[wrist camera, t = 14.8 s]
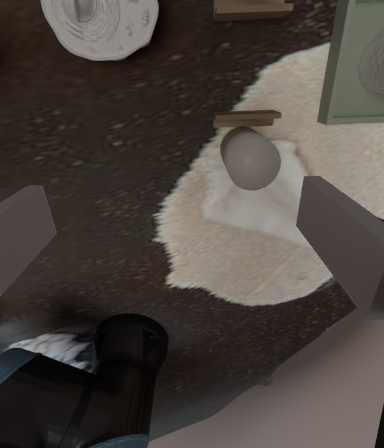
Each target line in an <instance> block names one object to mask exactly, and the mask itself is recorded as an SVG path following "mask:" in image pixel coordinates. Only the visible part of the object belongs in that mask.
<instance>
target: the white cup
mask: <svg viewBox="0 0 384 448" xmlns="http://www.w3.org/2000/svg"><path fill="white" fill-rule="evenodd" d="M359 75H360V81H361V83H362V84H363V85H364V86H365V88H366V89H367V90H368V91H372V92H376V93H380V94H384V33H382V34H381V35H380V36H378V37H377V38H376V39H374V40H373V41H372V42H371V43H370V44H369V46H368V47H367V49H366V50H365V52H364V53H363V55H362V58H361V62H360V66H359Z"/></svg>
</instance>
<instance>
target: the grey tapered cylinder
mask: <svg viewBox="0 0 384 448" xmlns="http://www.w3.org/2000/svg"><path fill="white" fill-rule="evenodd" d="M220 153H221V157H222V159H223V161H224V164H225V166H226V169H227V171H228V173H229V176H230V178H231V180H232V181H233V182H234V183H235V184H236V185H237V186H238V187H240V188H242V189H245V190H258V189H261V188H263V187H265V186H267V185H269V184H270V183H271V182H272V181H273V180H274V179H275V177H276V176H277V174H278V172H279V169H280V165H281V159H280V154H279V151H278V150H277V148H276V147H275V146H274V145H273V144H272V143H271V142H270V141H268V140H267V139H265V138H264V137H263V136H261V135H260V134H259V133H257V132H256V131H255V130H253V129H251V128H249V127H237V128H234V129H232V130H231V131H229V132H228V133H227V134H226V135H225V137H224V138H223V140H222V143H221V147H220Z"/></svg>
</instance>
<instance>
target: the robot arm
mask: <svg viewBox="0 0 384 448" xmlns="http://www.w3.org/2000/svg"><path fill="white" fill-rule="evenodd" d="M296 226H297V227H298V229H299V230H300V231H301V233H302V234H303V235H304V237H305V238H306V239H307V241H308V242H309V243H310V245H311V246H312V247H313V249H314V250H315V252H316V253H317V254H318V256H319V257H320V258H321V260H322V261H323V262H324V264H325V265H326V266H327V268H328V269H329V270H330V272H331V273H332V274H333V276H334V277H335V278H336V280H337V281H338V283H339V284H340V285H341V287H342V288H343V289H344V291H345V292H346V293H347V295H348V296H349V297H350V299H351V300H352V301H353V303H354V304H355V305H356V307H357V308H358V309H359V311H360V312H361V313H362V315H363V316H364V317H365V319H366V320H374V319H384V220H383V219H381V218H379V217H376V216H374V215H373V214H372V213H370V212H369V211H368V210H366V209H365V208H363V207H362V206H361V205H359V204H358V203H356V202H355V201H354V200H352V199H351V198H349V197H348V196H347V195H345V194H344V193H342V192H341V191H340V190H338V189H337V188H336V187H334V186H333V185H331V184H330V183H329V182H327V181H326V180H324V179H323V178H322V177H320V176H304V180H303V186H302V192H301V199H300V205H299V211H298V217H297V223H296ZM56 234H57V232H56V228H55V225H54V222H53V218H52V215H51V212H50V209H49V205H48V202H47V199H46V195H45V192H44V189H43V185H39V186H26V187H25V188H23V189H22V190H20V191H19V192H17V193H15V194H14V195H12V196H11V197H9V198H7V199H6V200H4V201H3V202H1V203H0V296H1V295H2V294H3V293H4V292H5V291H6V290H7V288H8V287H9V286H10V285H11V284H12V283H13V282H14V281H15V279H16V278H17V277H18V276H19V275H20V274H21V273H22V272H23V270H24V269H25V268H26V267H27V266H28V265H29V264H30V263H31V262H32V260H33V259H34V258H35V257H36V256H37V255H38V254H39V253H40V251H41V250H42V249H43V248H44V247H45V246H46V245H47V244H48V242H49V241H50V240H51V239H52V238H53V237H54V236H55V235H56ZM167 348H168V337H167V334H166V332H165V331H164V329H163V328H162V327H161V326H160V325H159V324H158V323H156V322H155V321H153V320H151V319H149V318H147V317H144V316H140V315H134V314H123V315H117V316H114V317H111V318H109V319H107V320H105V321H104V322H103V323H102V324H101V325H100V326H99V327H98V329H97V331H96V334H95V337H94V340H93V370H92V373H90V372H87V371H84V370H82V369H79V368H76V367H73V366H71V365H68V364H65V363H63V362H60V361H58V360H55V359H52V358H50V357H47V356H44V355H42V353H35V352H31V351H28V350H25V349H22V348H11V349H8V350H6V351H5V352H3V353H2V354H0V448H147V446H148V443H149V431H150V421H151V412H152V403H153V394H154V385H155V379H156V377H157V374H158V372H159V370H160V368H161V366H162V364H163V362H164V359H165V357H166V354H167ZM375 448H384V405H383V410H382V414H381V419H380V424H379V429H378V434H377V439H376V443H375Z"/></svg>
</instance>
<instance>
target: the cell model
mask: <svg viewBox="0 0 384 448" xmlns="http://www.w3.org/2000/svg"><path fill="white" fill-rule="evenodd" d="M41 5H42V10H43V13H44V16H45V18H46V19H47V21H48V23H49V24H50V26H51V27H52V29H53V30H54V32H55V34H56V36H57V38H58V40H59V41H60V43H61V44H62V45H63V46H64V47H65V48H66V49H67V50H68V51H70V52H71V53H73V54H75V55H77V56H80V57H84V58H87V59H90V60H94V61H102V60H114V61H119V60H123V59H125V58H126V57H127V56H129V55H130V54H132V53H133V52H135V51H136V50H137V49H139V48H142V47H145V46H147V45H148V44H149V43H150V40H151V37H152V33H153V30H154V27H155V24H156V21H157V17H158V12H159V5H158V0H41Z"/></svg>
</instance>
